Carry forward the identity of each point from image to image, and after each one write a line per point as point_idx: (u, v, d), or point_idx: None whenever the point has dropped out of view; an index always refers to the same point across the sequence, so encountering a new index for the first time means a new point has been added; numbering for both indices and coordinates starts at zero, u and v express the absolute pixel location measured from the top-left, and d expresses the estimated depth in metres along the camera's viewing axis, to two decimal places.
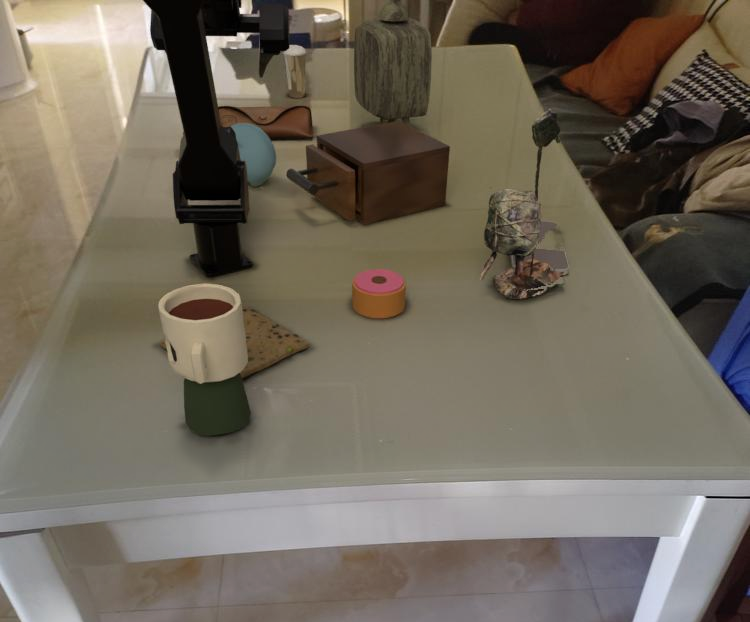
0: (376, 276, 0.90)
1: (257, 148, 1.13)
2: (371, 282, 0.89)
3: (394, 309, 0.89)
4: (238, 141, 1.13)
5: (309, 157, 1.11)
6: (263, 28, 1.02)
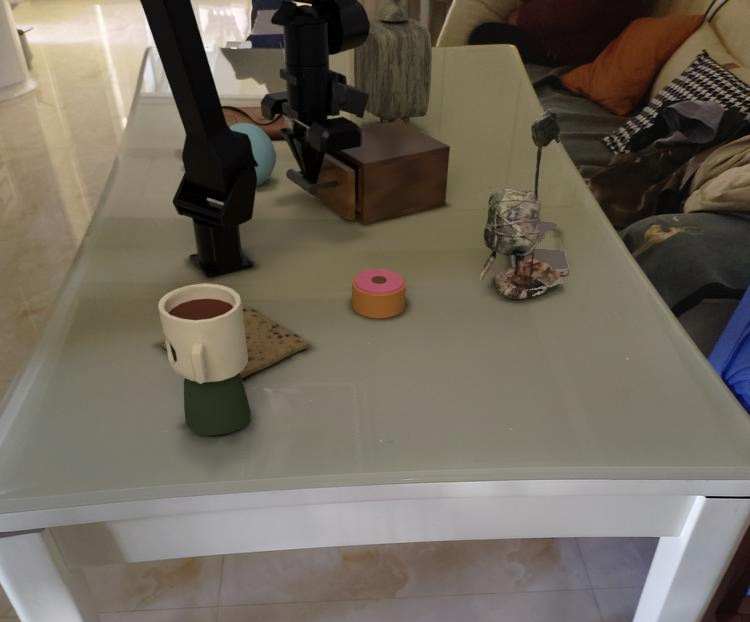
0: (376, 276, 0.90)
1: (257, 148, 1.13)
2: (371, 282, 0.89)
3: (394, 309, 0.89)
4: None
5: None
6: (316, 122, 0.96)
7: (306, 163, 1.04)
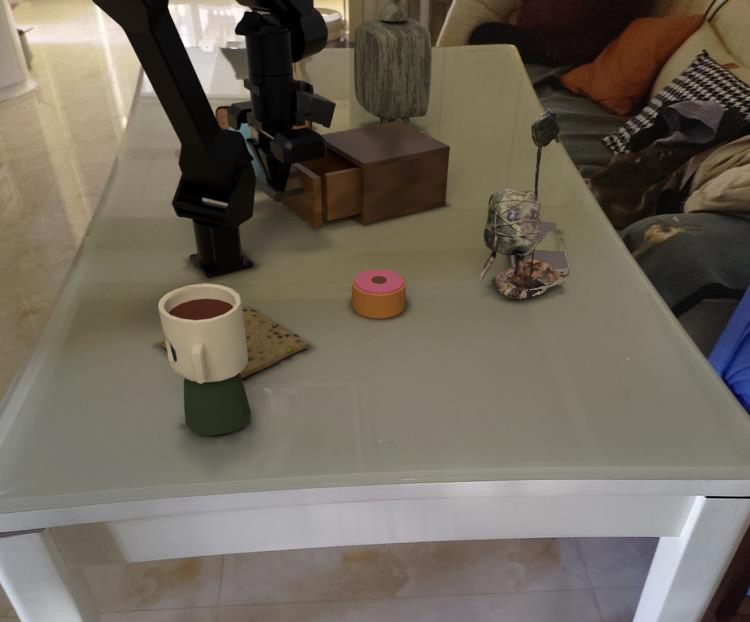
0: (376, 276, 0.90)
1: None
2: (371, 282, 0.89)
3: (394, 309, 0.89)
4: None
5: None
6: (280, 133, 0.95)
7: (272, 174, 1.02)
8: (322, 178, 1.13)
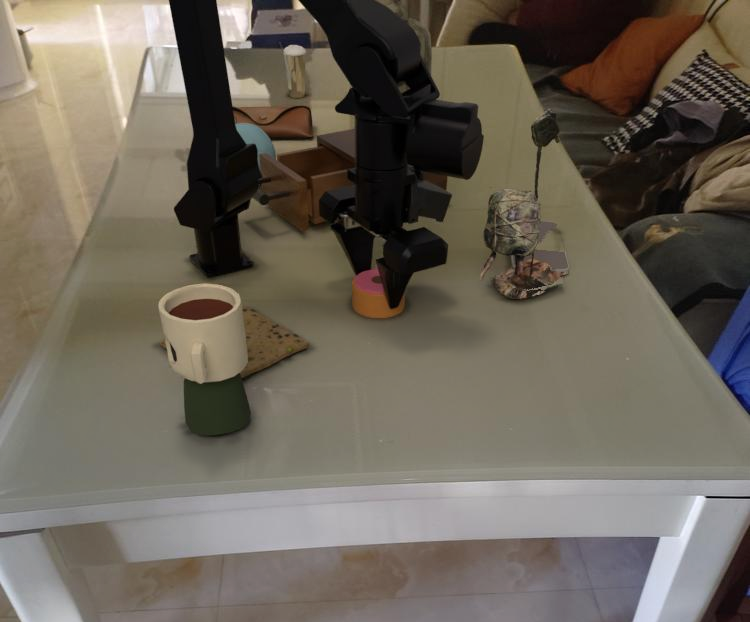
0: (376, 276, 0.90)
1: (257, 148, 1.13)
2: (371, 282, 0.89)
3: (394, 309, 0.89)
4: None
5: (263, 166, 1.08)
6: (394, 236, 0.79)
7: (389, 287, 0.85)
8: (309, 181, 1.13)
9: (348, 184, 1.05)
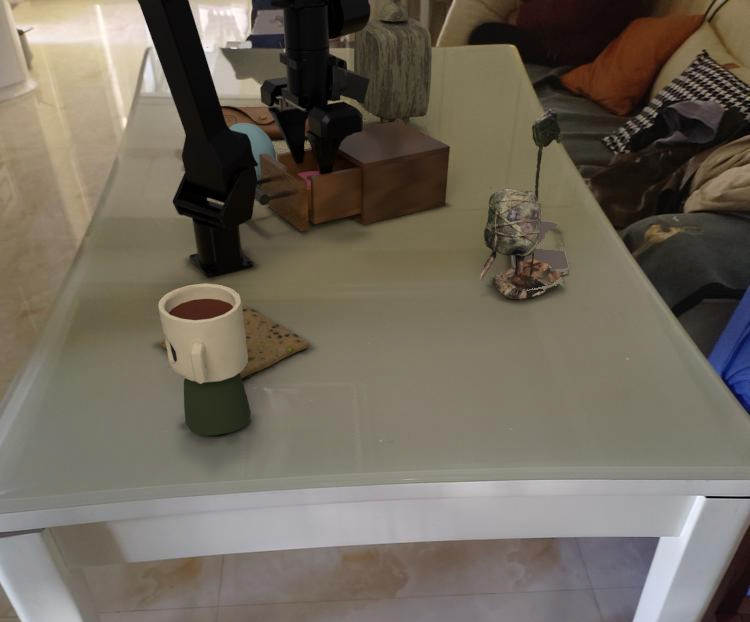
0: (310, 175, 1.08)
1: (257, 148, 1.13)
2: (306, 179, 1.07)
3: None
4: None
5: (263, 166, 1.08)
6: (317, 107, 0.95)
7: (319, 157, 1.01)
8: None
9: (348, 184, 1.05)
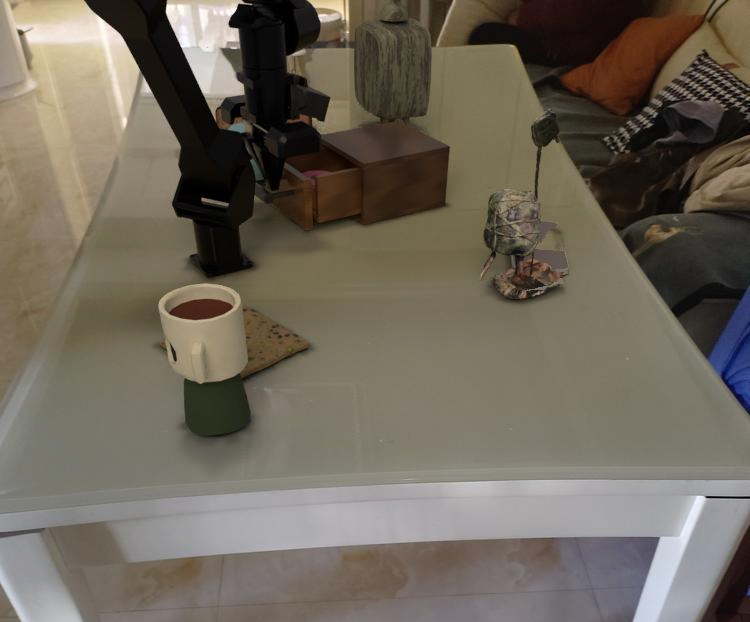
0: (314, 174, 1.08)
1: None
2: None
3: None
4: None
5: None
6: (274, 127, 0.94)
7: (267, 168, 1.01)
8: None
9: (353, 183, 1.05)
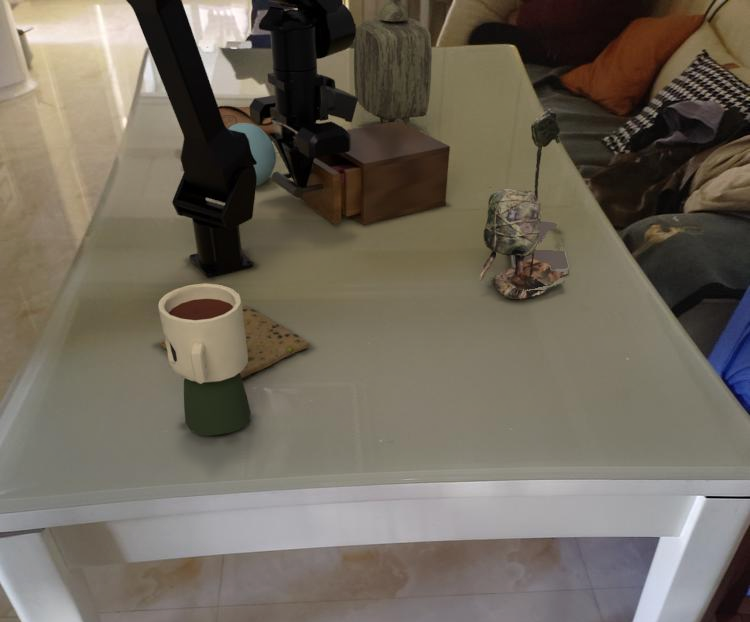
0: (342, 169, 1.10)
1: (257, 148, 1.13)
2: None
3: None
4: None
5: None
6: (304, 127, 0.96)
7: (295, 168, 1.04)
8: None
9: None
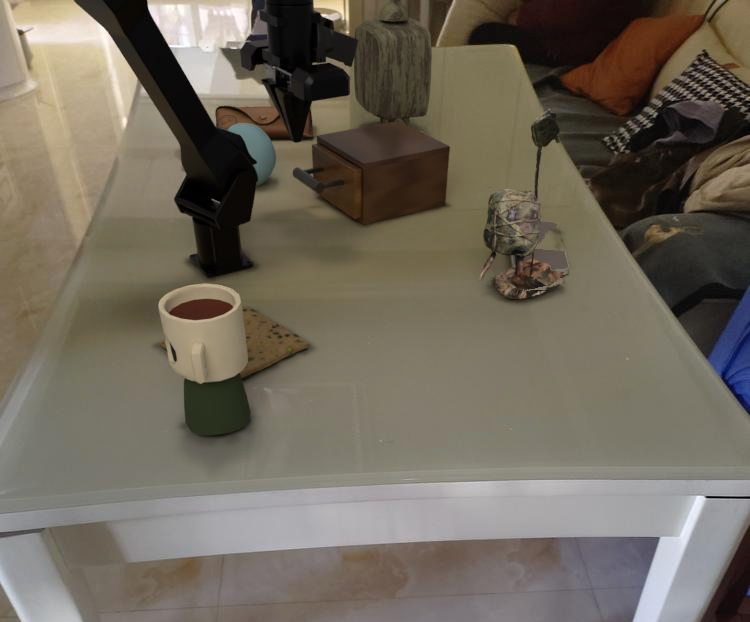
0: None
1: (257, 148, 1.13)
2: None
3: None
4: None
5: (315, 156, 1.11)
6: (299, 67, 0.87)
7: (290, 117, 0.95)
8: None
9: None
